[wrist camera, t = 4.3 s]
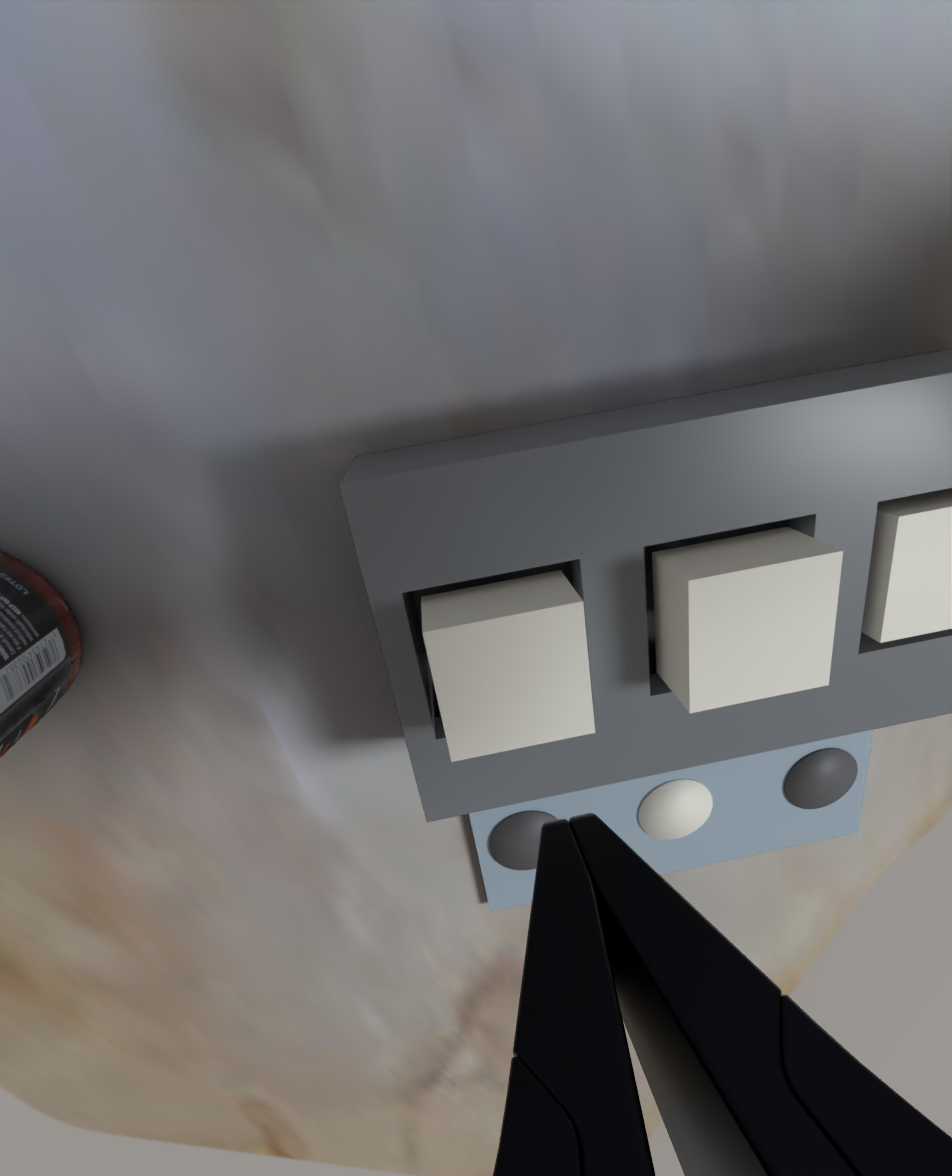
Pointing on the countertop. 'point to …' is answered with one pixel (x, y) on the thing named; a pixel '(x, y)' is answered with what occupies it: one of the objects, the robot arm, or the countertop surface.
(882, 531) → the button
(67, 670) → the supplement bottle
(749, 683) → the button middle
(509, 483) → the button board
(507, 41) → the countertop surface
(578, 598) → the button
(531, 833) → the pattern card
